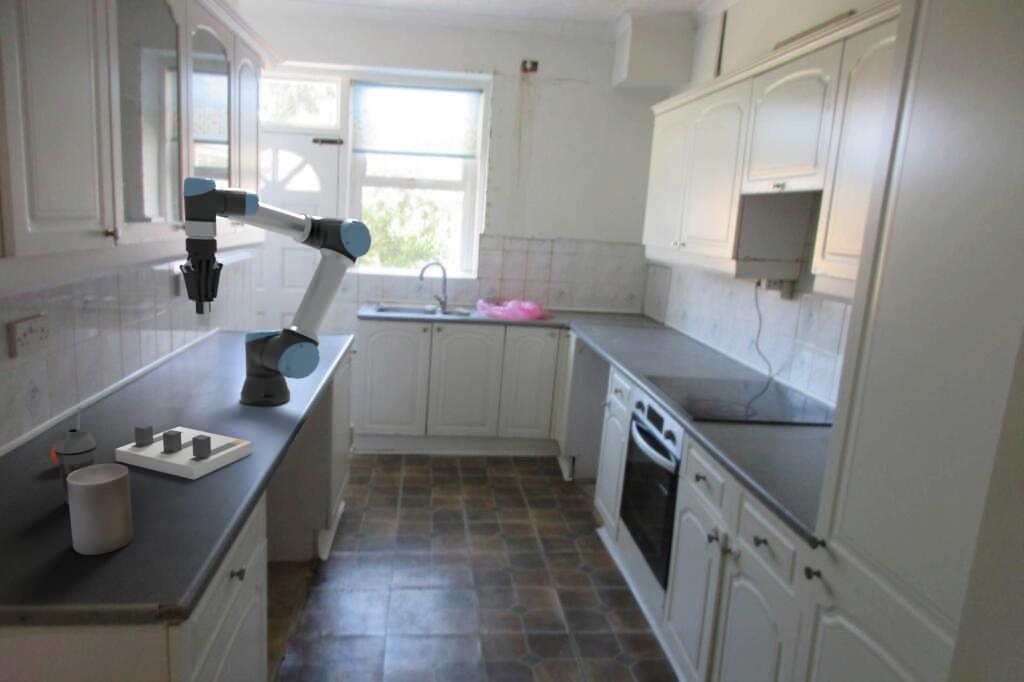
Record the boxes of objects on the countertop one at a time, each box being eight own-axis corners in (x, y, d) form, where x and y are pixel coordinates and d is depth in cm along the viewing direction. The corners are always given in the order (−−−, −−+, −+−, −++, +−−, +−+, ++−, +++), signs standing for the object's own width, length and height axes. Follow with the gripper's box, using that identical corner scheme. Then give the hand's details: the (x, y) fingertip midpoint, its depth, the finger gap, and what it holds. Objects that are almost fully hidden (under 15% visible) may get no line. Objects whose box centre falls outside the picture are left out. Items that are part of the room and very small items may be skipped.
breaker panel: (179, 437, 176) (178, 410, 174) (252, 453, 168) (251, 424, 166) (116, 460, 158) (114, 430, 156) (194, 479, 150) (192, 448, 149)
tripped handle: (201, 452, 157) (200, 434, 156) (211, 454, 156) (210, 436, 156) (192, 455, 155) (192, 437, 154) (202, 458, 154) (202, 439, 153)
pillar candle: (142, 529, 127) (137, 456, 124) (120, 555, 118) (114, 476, 115) (87, 530, 126) (81, 456, 123) (61, 557, 116) (53, 477, 113)
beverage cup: (52, 500, 136) (45, 408, 132) (92, 490, 142) (85, 401, 138) (66, 511, 132) (58, 417, 128) (105, 500, 138) (100, 409, 134)
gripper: (208, 236, 180) (211, 320, 185) (169, 237, 168) (173, 327, 173) (230, 238, 178) (232, 323, 182) (192, 239, 166) (195, 330, 170)
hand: (203, 325), depth 177 cm, fingers closed
